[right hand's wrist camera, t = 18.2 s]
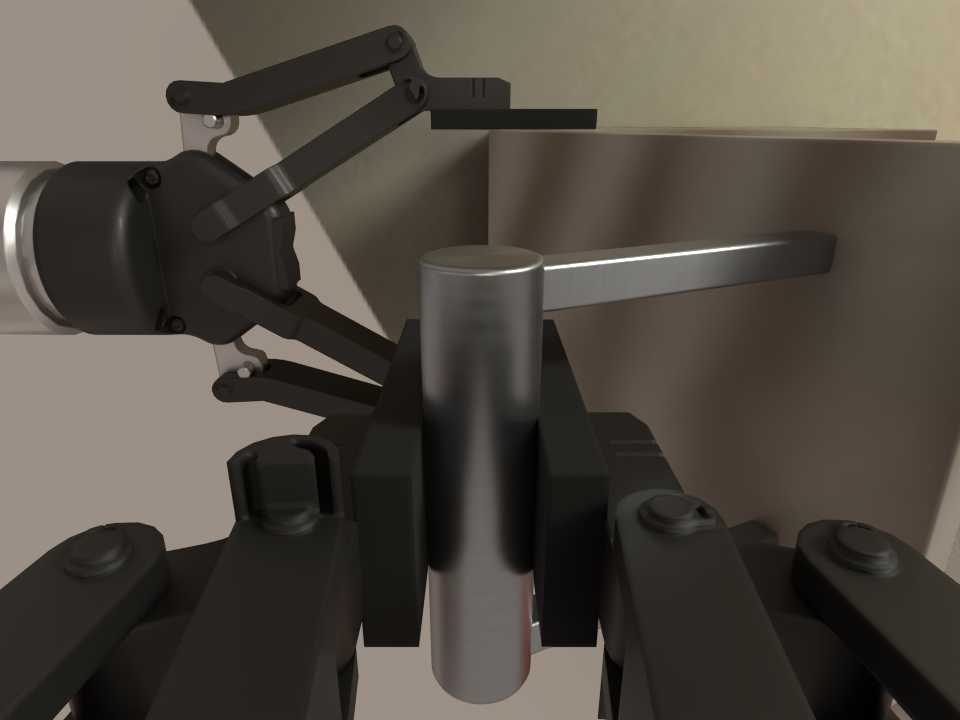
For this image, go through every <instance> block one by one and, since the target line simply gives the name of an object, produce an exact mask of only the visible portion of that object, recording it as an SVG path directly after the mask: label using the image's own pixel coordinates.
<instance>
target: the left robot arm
mask: <svg viewBox="0 0 960 720" xmlns="http://www.w3.org/2000/svg"><path fill="white" fill-rule="evenodd" d="M389 70H390V73H391V75H392V78H393V81H394V83H395V86H394V87H392V88H391V89H389V90H388V91H386V92H385V93H383V94H382V95H380V96H379V97H377V98H376V99H374V100H373V101H371V102H370V103H368V104H367V105H365V106H364V107H362V108H361V109H359V110H358V111H356V112H355V113H353V114H352V115H350V116H349V117H347V118H345V119H344V120H342V121H341V122H339V123H338V124H336V125H335V126H333V127H332V128H330V129H329V130H327V131H326V132H324V133H323V134H321V135H320V136H318V137H317V138H315V139H314V140H312V141H311V142H309V143H308V144H306V145H305V146H303V147H302V148H300V149H298V150H297V151H295V152H294V153H292V154H291V155H289V156H288V157H286V158H285V159H283V160H282V161H280V162H279V163H277V164H275V165H273V166H271V167H269V168H268V169H266V170H264V171H263V172H261V173H260V174H258V175H256V176H255V177H252V176H251V175H249V174H248V173H246V172H245V171H244V170H242V169H241V168H239V167H238V166H236V165H235V164H233V163H232V162H231V161H229V160H228V159H226V158H225V157H223V156H222V155H220V154H219V153H217V152H216V145H217V142H218V141H219V140H220V139H221V138H222V137H224V136H228V135H232V134H233V133H235V132H236V130H237V129H238V126H239V116H248V115H256V114H260V113H264V112H267V111H270V110H273V109H276V108H279V107H282V106H285V105H288V104H291V103H294V102H297V101H300V100H303V99H306V98H309V97H312V96H315V95H318V94H321V93H324V92H327V91H330V90H333V89H336V88H339V87H342V86H345V85H348V84H351V83H354V82H357V81H360V80H363V79H365V78H368V77H371V76H374V75H377V74H380V73H383V72H386V71H389ZM510 84H511V83H509V82H506V81H504V80H502V79H500V78H437V77H433V76H430V75H429V74H427V73H426V71H425V70H424V68H423V66H422V63H421V60H420V57H419V54H418V52H417V49H416V44H415V42H414V41H413V39H412V38H411V36H410V35H409V34H408V33H407V32H406V31H405V30H404V29H403V28H402V27H400V26H397V25H392V26H387V27H384V28H381V29H378V30H376V31H373V32H370V33H367V34H364V35H361V36H358V37H355V38H352V39H349V40H346V41H344V42H341V43H338V44H335V45H332V46H329V47H326V48H323V49H320V50H317V51H314V52H312V53H309V54H306V55H303V56H300V57H297V58H294V59H291V60H288V61H285V62H282V63H279V64H277V65H274V66H271V67H268V68H265V69H262V70H259V71H256V72H253V73H250V74H247V75H245V76H242V77H239V78H236V79H233V80H230V81H227V82H224V83H215V82H199V81H182V80H179V81H173V82H172V83H171V84H169V86H168V88H167V89H166V98H167V102H168V104H169V105H170V106H171V108H172V109H174V110H175V111H176V112H179V113H180V119H181V129H182V139H183V149H184V151H183V152H181V153H179V154H178V155H176V156H175V157H173V158H172V159H169V160H167V161H77V162H72V163H69V164H66V165H64V164H61V163H59V162H56V161H0V334H47V335H48V334H49V335H75V334H78V333H81V332H86V333H88V334H94V335H174V334H187V335H192V336H195V337H198V338H200V339H202V340H204V341H206V342H208V343H211V344H213V346H214V351H215V356H216V360H217V365H218V370H219V375H220V377H219V378H218V379H217V380H216V381H215V382H214V384H213V386H212V392H213V394H214V396H215V397H216V398H217V399H218V400H220V401H222V402H248V401H266V402H270V403H273V404H277V405H281V406H285V407H288V408H292V409H296V410H299V411H303V412H307V413H311V414H314V415H318V416H321V417H325V418H327V417H329V416H330V415H332V414H373V411H374V408H375V406H376V403H377V400H378V397H379V395H380V392H381V389H382V387H381V386H378V385H374V384H370V383H367V382H363V381H359V380H356V379H352V378H349V377H345V376H342V375H338V374H334V373H331V372H327V371H324V370H320V369H316V368H313V367H309V366H306V365H302V364H298V363H295V362H291V361H286V360H279V359H268V358H267V356H266V353H265V352H264V351H262V350H258V349H253V348H250V347H248V346H247V345H246V344H244V342H243V341H242V338H241V336H242V335H243V334H245V333H246V332H247V331H249V330H250V329H251V328H253V327H254V326H255V325H257V324H258V325H260V326H262V327H263V328H265V329H267V330H269V331H271V332H273V333H275V334H277V335H279V336H281V337H283V338H286V339H295V340H298V341H300V342H302V343H304V344H306V345H307V346H309V347H311V348H313V349H315V350H317V351H319V352H321V353H323V354H324V355H326V356H328V357H330V358H332V359H334V360H336V361H338V362H340V363H341V364H343V365H345V366H347V367H349V368H351V369H353V370H354V371H356V372H358V373H360V374H362V375H364V376H366V377H368V378H370V379H371V380H373V381H375V382H377V383H379V384H381V385H383V384H384V381H385V378H386V375H387V373H388V370H389V367H390V364H391V362H392V359H393V356H394V354H395V351H396V348H397V344H395V343H393V342H391V341H390V340H388V339H386V338H384V337H382V336H381V335H379V334H377V333H375V332H373V331H371V330H369V329H368V328H366V327H364V326H362V325H360V324H359V323H357V322H355V321H353V320H351V319H349V318H348V317H346V316H344V315H342V314H340V313H338V312H337V311H335V310H333V309H331V308H329V307H327V306H326V305H324V304H322V303H321V302H320V301H319V300H318V298H317V297H316V296H314V295H313V294H311V293H309V292H307V291H306V290H304V289H302V288H300V287H298V286H297V282H298V281H299V280H300V279H301V278H300V267H299V262H298V259H297V256H296V253H295V251H294V248H293V242H294V236H295V230H296V227H295V217H294V212H290V210H289V208H288V206H287V204H286V203H285V201H286V200H288V199H289V198H291V197H292V196H294V195H295V194H297V193H299V192H300V191H302V190H303V189H305V188H306V187H308V186H309V185H310V184H311V183H313V182H314V181H316V180H317V179H319V178H321V177H322V176H324V175H325V174H327V173H328V172H330V171H331V170H333V169H335V168H336V167H338V166H339V165H341V164H342V163H344V162H345V161H347V160H348V159H350V158H352V157H353V156H355V155H356V154H358V153H359V152H361V151H362V150H364V149H366V148H367V147H369V146H370V145H372V144H373V143H375V142H376V141H378V140H380V139H381V138H383V137H384V136H386V135H387V134H389V133H390V132H392V131H393V130H395V129H397V128H398V127H400V126H401V125H403V124H404V123H406V122H407V121H409V120H411V119H412V118H414V117H415V116H417V115H418V114H420V113H421V112H423V111H431V129H596V122H597V109H510Z"/></svg>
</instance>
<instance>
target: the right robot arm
mask: <svg viewBox="0 0 960 720" xmlns="http://www.w3.org/2000/svg"><path fill="white" fill-rule="evenodd" d="M227 467H228V474H229V480H230V486H231V493H232V499H233V505H234V511H235V518H236V522H235V524H234V526H233V529H232V531H231V533H230V535H229V537H227V538H225V539H222V540H218V541H214V542H210V543H207V544H202V545H197V546H192V547H187V548H182V549H176V550H171V551H166V547H165V542H164V538H163V535H162V534H161V533H160V532H159V531H158V530H157V529H156V528H155V527H153V526H150V525H146V524H142V523H138V522H136V523H112V524H106V525H105V526H103V525H101V526H97V527H94V528H91V529H89V530H87V531H85V532H82V533H80V534H77V535H75V536H72V537H70V538H68V539H67V540H65V541H63V542H62V543H60V544H59V545H57V546H55V547H54V548H52V549H51V550H49V551H48V552H47V553H45V554H44V555H43V556H42V557H40V558H39V559H38V560H37V561H35V562H34V563H33V564H32V565H30V566H29V567H28V568H27V569H25V570H24V571H23V572H22V573H20V574H19V575H18V576H17V577H15V578H14V579H13V580H12V581H10V582H9V583H8V584H7V585H5V586H4V587H3V588H2V589H1V590H0V720H53V719H54V718H55V716H56V715H57V714H58V713H59V712H60V711H61V710H62V709H63V707H64V706H65V705H66V704H67V703H68V702H69V705H70V709H71V712H70V713H69V714H68V715H67V716H66V718H65V719H64V720H354V711H355V702H356V693H357V684H358V666H357V654H356V644H357V640H358V635H359V631H360V627H361V623H362V626H363V638H364V647H419V642H420V633H421V625H422V616H423V607H424V598H425V590H426V581H427V573H428V537H427V508H426V478H425V449H424V420H423V394H422V365H421V335H420V319H407V321H406V323H405V326H404V329H403V332H402V334H401V337H400V340H399V343H398V345H397V348H396V351H395V354H394V356H393V359H392V362H391V364H390V367H389V370H388V373H387V375H386V378H385V381H384V384H383V386H382V389H381V392H380V395H379V397H378V400H377V403H376V406H375V408H374V411H373V414H332V415H330V416H329V417H327V418H326V419H324V420H323V421H322V422H320V423H319V424H317V425H316V426H315V427H313V429H312V430H311V432H310V434H309V435H286V436H279V437H272V438H268V439H265V440H262V441H258V442H255V443H252V444H250V445H248V446H247V447H245V448H243V449H241V450H239V451H237V452H236V453H235V454H234V455H233V456H232V457H231V458H230V459H229V460H228V461H227ZM533 577H534V585H535V594H536V603H537V611H538V620H539V629H540V637H541V646H542V647H596V644H597V633H598V621H600V625H601V630H602V634H603V638H604V642H605V643H604V654H603V666H602V677H601V688H600V699H599V711H598V719H607V720H900V719H899V718H898V717H897V716H896V714H895V713H894V712H893V711H892V710H891V709H890V708H891V704H892V701H893V699H894V700H895V701H896V702H897V703H898V704H899V705H900V706H901V708H902V709H903V710H904V711H905V712H906V713H907V714H908V715H909V716H910V718H911V719H912V720H960V585H959V584H958V583H957V582H955V581H954V580H953V579H952V578H950V577H949V576H948V575H947V574H945V573H944V572H943V571H942V570H940V569H939V568H938V567H937V566H935V565H934V564H933V563H932V562H930V561H929V560H928V559H927V558H925V557H924V556H923V555H922V554H920V553H919V552H918V551H917V550H915V549H914V548H913V547H911V546H910V545H908V544H906V543H905V542H903V541H902V540H900V539H898V538H897V537H895V536H894V535H892V534H889V533H887V532H884V531H882V530H879V529H877V528H875V527H873V526H871V525H868V524H864V523H860V522H858V523H856V521H849V520H825V519H823V520H819V521H816V522H812V523H808V524H806V525H805V526H804V527H803V528H802V529H801V530H800V531H799V532H798V536H797V541H796V546H795V549H794V548H789V547H784V546H779V545H774V544H769V543H763V542H758V541H754V540H750V539H746V538H742V537H738V536H736V535H733V534H731V533H730V532H729V530H728V528H727V525H726V523H725V521H724V519H723V518H722V517H721V516H720V514H719V513H718V512H717V511H716V509H715V508H713V507H712V506H710V505H709V504H707V503H705V502H704V501H702V500H701V499H699V498H696V497H693V496H691V495H688V494H685V493H684V491H683V489H682V487H681V485H680V483H679V482H678V480H677V478H676V476H675V474H674V472H673V471H672V469H671V467H670V465H669V463H668V461H667V460H666V458H665V457H663V452H662V451H661V449H660V447H659V445H658V444H656V440H655V438H654V436H653V434H652V432H651V430H650V429H649V427H648V425H647V424H645V423H644V422H642V421H641V420H639V419H638V418H636V417H635V416H634V415H632V414H631V413H629V412H587V410H586V407H585V404H584V401H583V399H582V396H581V393H580V390H579V388H578V385H577V382H576V380H575V377H574V374H573V371H572V369H571V366H570V363H569V360H568V358H567V355H566V352H565V350H564V347H563V344H562V341H561V339H560V336H559V333H558V330H557V328H556V325H555V322H554V319H543V333H542V360H541V387H540V413H539V416H538V432H537V460H536V488H535V517H534V545H533Z"/></svg>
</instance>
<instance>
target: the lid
mask: <svg viewBox="0 0 960 720" xmlns="http://www.w3.org/2000/svg"><path fill="white" fill-rule="evenodd" d="M418 277H419V306H420V335H421V365H422V394H423V420H424V449H425V478H426V508H427V537H428V569H429V598H430V627H431V656H432V670H433V674H434V676H435V678H436V680H437V682H438V683H439V685H440V686H441V687H442V688H443V690H445V691H446V692H447V693H448V694H449V695H451V696H452V697H454V698H456V699H458V700H461V701H463V702H467V703H472V704H491V703H495V702H499V701H502V700H504V699H506V698H508V697H510V696H511V695H513V694H514V693H515V692H517V691H518V690H519V689H520V687H521V686H522V685H523V683H524V682H525V680H526V679H527V677H528V674H529V671H530V661H531V655H532V654H534V653H537V652H539V651H542V650H545V649H547V648H550V647H542V646H541V637H540V629H539V620H538V611H537V603H536V594H534V595H533V579H534V577H533V545H534V517H535V488H536V460H537V432H538V416H539V413H540V387H541V360H542V333H543V319H554V322H555V325H556V328H557V330H558V333H559V336H560V339H561V341H562V344H563V347H564V350H565V352H566V355H567V358H568V360H569V363H570V366H571V369H572V371H573V374H574V377H575V380H576V382H577V385H578V388H579V390H580V393H581V396H582V399H583V401H584V404H585V407H586V410H587V412H629V413H631V414H632V415H634V416H635V417H636V418H638V419H639V420H641V421H642V422H644V423H645V424H647V425H648V427H649V429H650V430H651V432H652V434H653V436H654V438H655V440H656V444H658V445H659V447H660V449H661V451H662V452H663V457H665V458H666V460H667V461H668V463H669V465H670V467H671V469H672V471H673V472H674V474H675V476H676V478H677V480H678V482H679V483H680V485H681V487H682V489H683V491H684V493H685V494H688V495H691V496H693V497H696V498H699V499H701V500H702V501H704V502H705V503H707V504H709V505H710V506H712V507H713V508H715V509H716V511H717V512H718V513H719V514H720V516H721V517H722V518H723V519H724V521H725V523H726V525H727V528H728V530H729V532H730V533H731V534H733V535H736V536H738V537H742V538H746V539H750V540H754V541H758V542H763V543H769V544H774V545H779V546H784V547H789V548H794V549H795V546H796V541H797V536H798V532H799V531H800V530H801V529H802V528H803V527H804V526H805V525H806V524H808V523H812V522H816V521H819V520H823V519H825V520H849V521H856V523H858V522H860V523H864V524H868V525H871V526H873V527H875V528H877V529H879V530H882V531H884V532H887V533H889V534H892V535H894V536H895V537H897V538H898V539H900V540H902V541H903V542H905V543H906V544H908V545H910V546H911V547H913V548H914V549H915V550H917V551H918V552H919V553H920V554H922V555H923V556H924V557H925V558H927V559H928V560H929V561H930V562H932V563H933V564H934V565H935V566H937V567H938V568H939V569H940V570H942V571H943V572H944V573H945V571H946V568H947V564H948V561H949V558H950V555H951V552H952V548H953V545H954V542H955V539H956V536H957V532H958V529H959V526H960V141H939V140H899V139H858V138H818V137H778V136H738V135H697V134H657V133H617V132H577V131H537V130H490V131H489V202H488V245H464V246H453V247H446V248H440V249H436V250H433V251H430V252H427V253H425V254H423V255H422V256H421V257H420V259H419V261H418ZM599 628H601V625H600V621H598V629H599ZM895 703H897V702H896V701H895V700H894V699H893V701H892V704H891V706H892V705H894V704H895Z"/></svg>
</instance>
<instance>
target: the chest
mask: <svg viewBox="0 0 960 720" xmlns="http://www.w3.org/2000/svg"><path fill="white" fill-rule="evenodd" d="M496 130H537V131H577V132H617V133H657V134H697V135H738V136H778V137H818V138H858V139H899V140H935V138H936V134H937V130H917V129H866V128H815V127H596V129H496Z"/></svg>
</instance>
